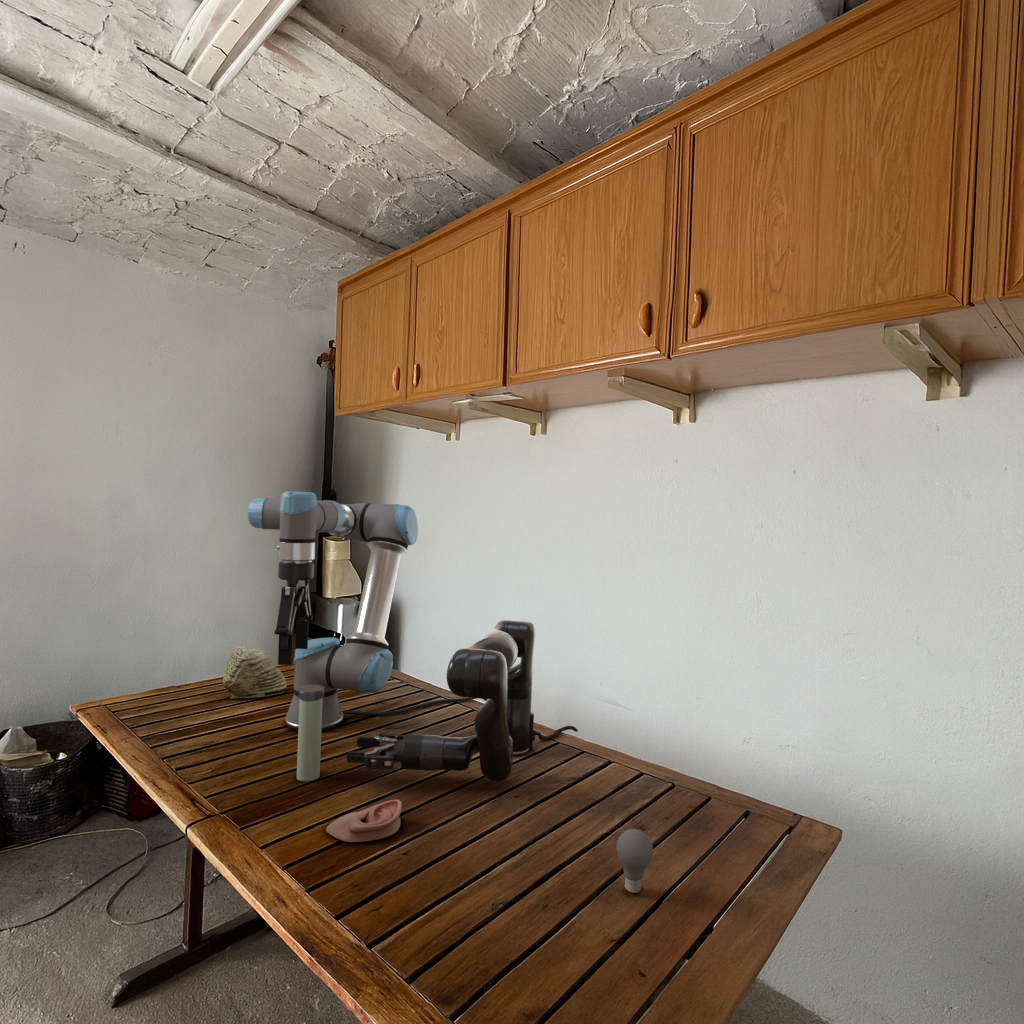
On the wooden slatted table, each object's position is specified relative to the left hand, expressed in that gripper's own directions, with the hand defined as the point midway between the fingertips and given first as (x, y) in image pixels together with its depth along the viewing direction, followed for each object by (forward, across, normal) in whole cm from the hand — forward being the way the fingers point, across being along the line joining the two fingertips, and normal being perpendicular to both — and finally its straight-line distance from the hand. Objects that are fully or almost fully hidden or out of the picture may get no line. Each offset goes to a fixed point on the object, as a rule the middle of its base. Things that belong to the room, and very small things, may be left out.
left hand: (293, 656), depth 141 cm
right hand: (+21, 0, +14) cm, 25 cm away
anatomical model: (+27, +22, +20) cm, 40 cm away
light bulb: (+27, +41, +67) cm, 83 cm away
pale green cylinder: (+28, -1, +4) cm, 28 cm away
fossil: (+28, -58, -26) cm, 70 cm away
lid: (+8, -1, +4) cm, 9 cm away
